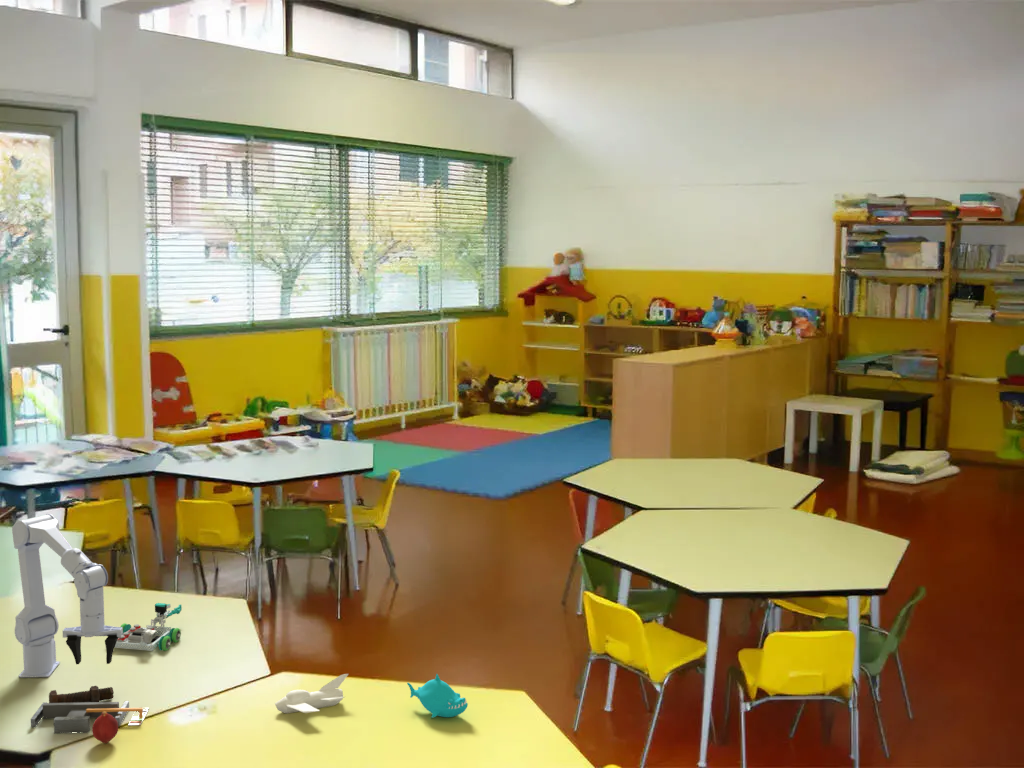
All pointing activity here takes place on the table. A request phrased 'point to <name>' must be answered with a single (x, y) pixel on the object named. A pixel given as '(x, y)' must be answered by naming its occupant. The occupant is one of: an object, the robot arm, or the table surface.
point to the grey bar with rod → (85, 709)
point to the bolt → (82, 696)
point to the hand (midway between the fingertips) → (93, 662)
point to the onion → (105, 728)
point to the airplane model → (312, 698)
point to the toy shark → (439, 698)
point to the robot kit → (151, 632)
